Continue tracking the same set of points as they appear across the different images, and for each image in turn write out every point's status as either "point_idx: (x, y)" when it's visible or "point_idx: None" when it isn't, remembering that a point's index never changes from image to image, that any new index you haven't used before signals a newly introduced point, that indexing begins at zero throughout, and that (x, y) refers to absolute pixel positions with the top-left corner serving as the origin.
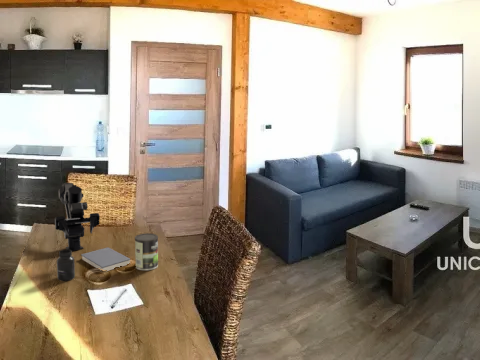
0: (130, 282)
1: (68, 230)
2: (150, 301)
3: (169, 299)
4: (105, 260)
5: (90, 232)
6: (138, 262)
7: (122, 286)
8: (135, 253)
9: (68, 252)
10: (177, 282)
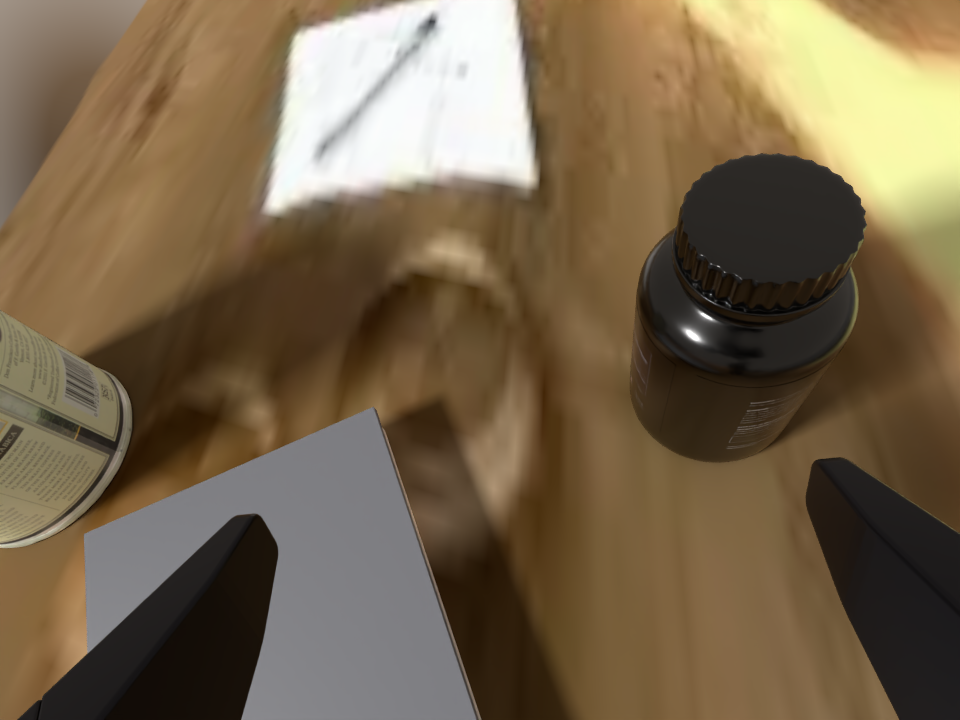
0: (265, 224)
1: (917, 558)
2: (261, 44)
3: (183, 50)
4: (306, 577)
5: (266, 586)
6: (82, 375)
7: (326, 187)
8: (15, 398)
9: (716, 178)
10: (52, 180)
